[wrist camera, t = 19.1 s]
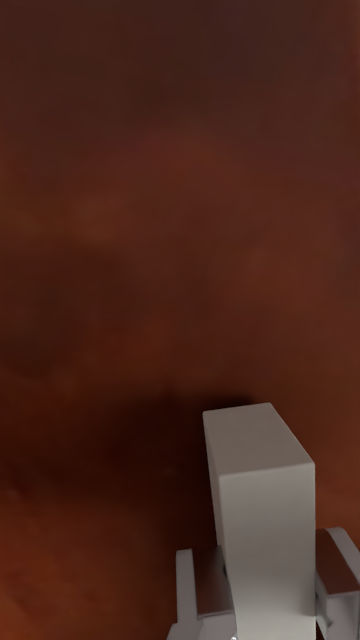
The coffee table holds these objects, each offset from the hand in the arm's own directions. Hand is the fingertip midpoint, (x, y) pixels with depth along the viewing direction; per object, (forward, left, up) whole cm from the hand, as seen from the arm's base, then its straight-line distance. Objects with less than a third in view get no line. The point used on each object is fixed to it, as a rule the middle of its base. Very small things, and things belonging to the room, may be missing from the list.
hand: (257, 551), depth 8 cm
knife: (+6, 0, -2) cm, 6 cm away
